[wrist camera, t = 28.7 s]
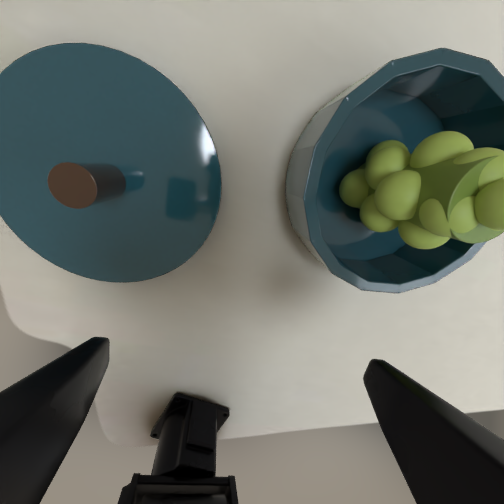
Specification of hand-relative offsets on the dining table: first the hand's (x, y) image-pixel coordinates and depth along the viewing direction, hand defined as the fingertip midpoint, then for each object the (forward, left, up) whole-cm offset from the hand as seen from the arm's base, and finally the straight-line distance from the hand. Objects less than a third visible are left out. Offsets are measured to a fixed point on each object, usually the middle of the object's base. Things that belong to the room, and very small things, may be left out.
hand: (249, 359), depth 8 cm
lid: (0, +10, -12) cm, 16 cm away
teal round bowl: (+10, -8, -13) cm, 18 cm away
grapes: (+10, -7, -13) cm, 18 cm away
